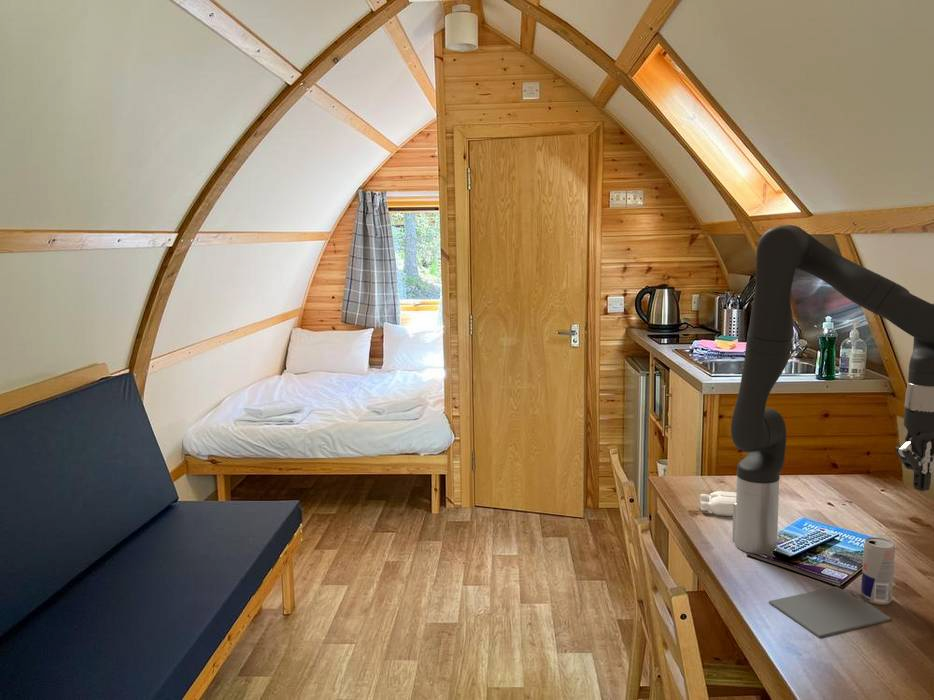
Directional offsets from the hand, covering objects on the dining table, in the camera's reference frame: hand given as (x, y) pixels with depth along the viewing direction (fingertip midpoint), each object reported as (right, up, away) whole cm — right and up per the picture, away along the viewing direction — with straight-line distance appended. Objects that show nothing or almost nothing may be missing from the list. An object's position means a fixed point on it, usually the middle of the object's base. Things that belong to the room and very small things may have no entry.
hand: (921, 489), depth 138 cm
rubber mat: (-21, -23, -3) cm, 31 cm away
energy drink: (-9, -22, +1) cm, 24 cm away
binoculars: (-20, -16, +47) cm, 53 cm away
